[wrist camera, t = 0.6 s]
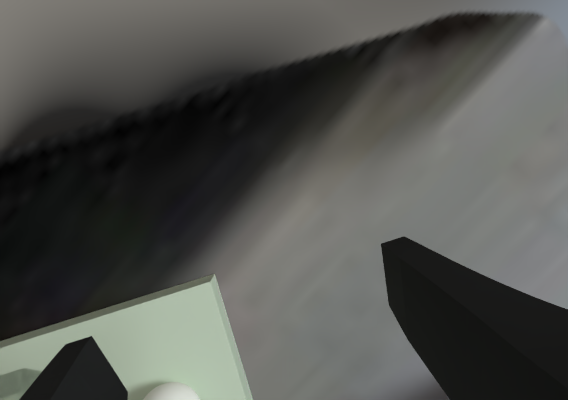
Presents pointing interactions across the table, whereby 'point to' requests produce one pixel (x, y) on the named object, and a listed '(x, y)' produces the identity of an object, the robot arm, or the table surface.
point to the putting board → (143, 344)
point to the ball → (172, 392)
